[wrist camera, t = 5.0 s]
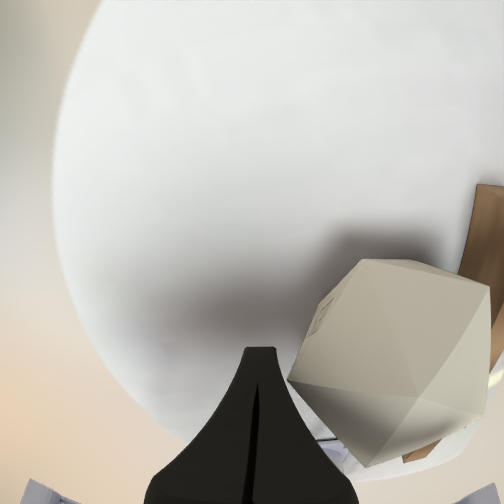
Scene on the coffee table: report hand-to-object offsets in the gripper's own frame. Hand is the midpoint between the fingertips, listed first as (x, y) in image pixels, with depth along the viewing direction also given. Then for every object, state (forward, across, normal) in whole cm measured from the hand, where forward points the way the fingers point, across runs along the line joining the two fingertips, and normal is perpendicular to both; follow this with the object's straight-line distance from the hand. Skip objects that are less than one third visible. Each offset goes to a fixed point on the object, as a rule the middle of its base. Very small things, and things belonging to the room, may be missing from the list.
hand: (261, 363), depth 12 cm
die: (+4, -6, 0) cm, 7 cm away
